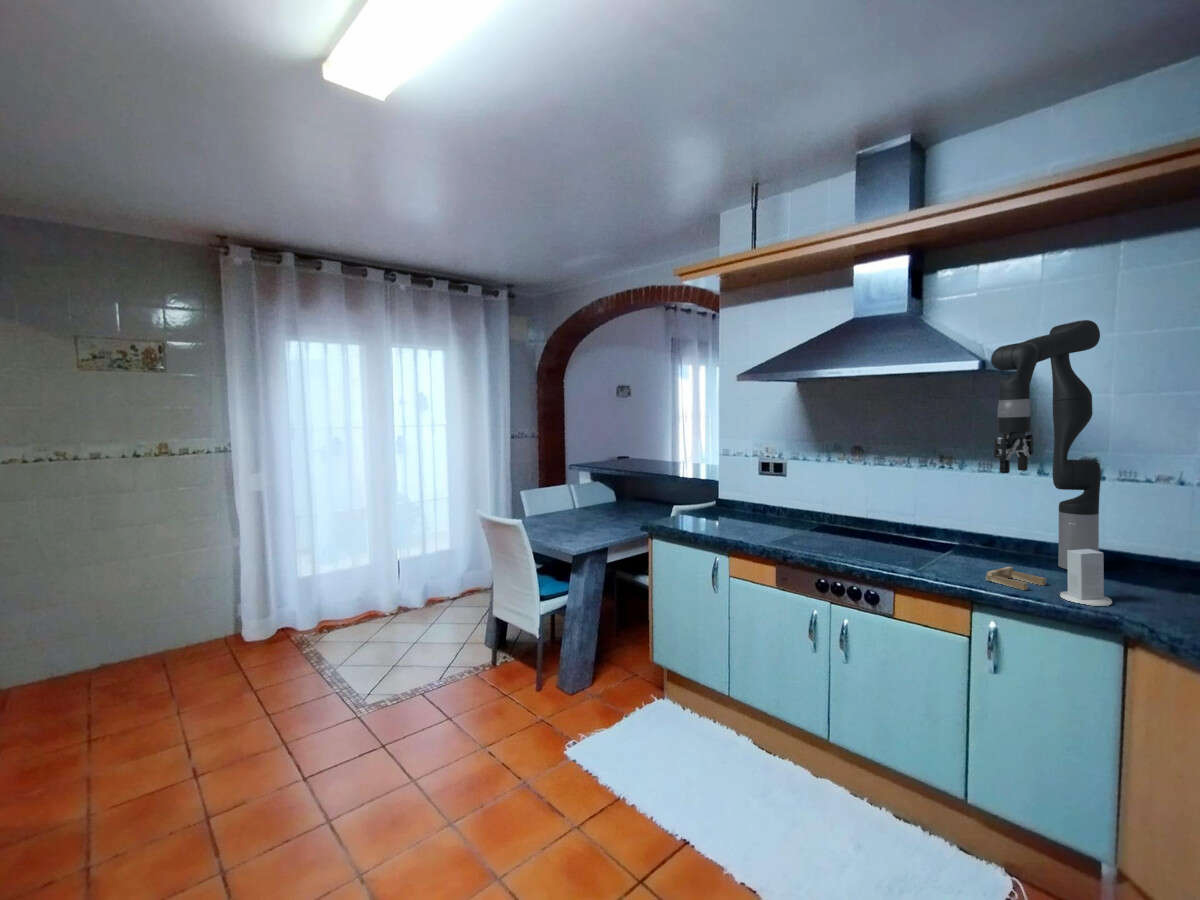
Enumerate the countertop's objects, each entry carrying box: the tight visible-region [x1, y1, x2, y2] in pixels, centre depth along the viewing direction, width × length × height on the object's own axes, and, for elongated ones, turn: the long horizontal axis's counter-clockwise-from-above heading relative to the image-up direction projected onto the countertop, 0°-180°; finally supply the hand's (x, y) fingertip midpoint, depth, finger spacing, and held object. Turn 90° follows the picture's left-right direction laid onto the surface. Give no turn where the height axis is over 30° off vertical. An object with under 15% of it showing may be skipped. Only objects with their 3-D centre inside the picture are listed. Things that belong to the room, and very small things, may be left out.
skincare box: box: [1066, 549, 1105, 600], centre depth 141 cm, size 6×4×12 cm
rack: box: [985, 566, 1047, 591], centre depth 156 cm, size 10×10×3 cm
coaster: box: [1059, 590, 1113, 607], centre depth 141 cm, size 10×10×1 cm
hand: (1013, 471), depth 158 cm, fingers open, 8 cm apart
